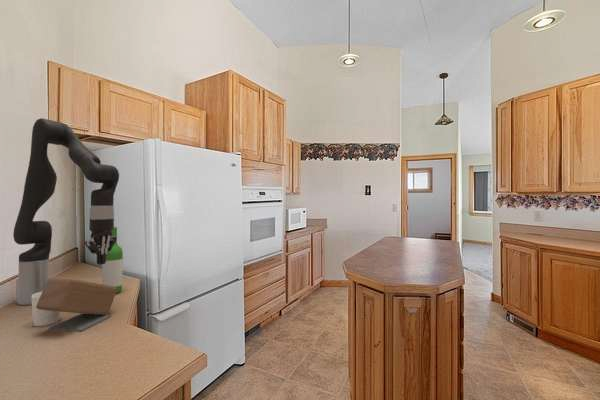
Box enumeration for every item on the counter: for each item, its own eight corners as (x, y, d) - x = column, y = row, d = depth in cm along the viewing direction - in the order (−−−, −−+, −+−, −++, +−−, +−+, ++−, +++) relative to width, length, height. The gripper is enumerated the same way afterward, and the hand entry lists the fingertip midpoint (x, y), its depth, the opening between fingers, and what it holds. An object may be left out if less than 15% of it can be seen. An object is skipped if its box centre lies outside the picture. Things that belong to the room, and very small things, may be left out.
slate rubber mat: (48, 329, 94) (48, 327, 94) (80, 314, 106) (81, 313, 106) (82, 331, 93) (82, 329, 93) (110, 316, 105) (110, 315, 105)
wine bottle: (97, 294, 129) (98, 227, 129) (114, 289, 136) (115, 226, 137) (109, 296, 126) (110, 228, 126) (126, 291, 133) (127, 227, 134)
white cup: (66, 319, 102) (67, 291, 102) (40, 328, 94) (41, 298, 95) (51, 316, 104) (52, 288, 105) (25, 325, 97) (25, 295, 97)
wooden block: (109, 315, 106) (58, 311, 88) (87, 313, 108) (33, 309, 90) (118, 287, 110) (72, 278, 92) (96, 285, 112) (47, 276, 94)
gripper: (106, 216, 115) (105, 260, 114) (77, 218, 101) (76, 267, 101) (124, 217, 114) (123, 260, 114) (96, 219, 101) (95, 268, 100)
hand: (101, 264), depth 107 cm, fingers closed
